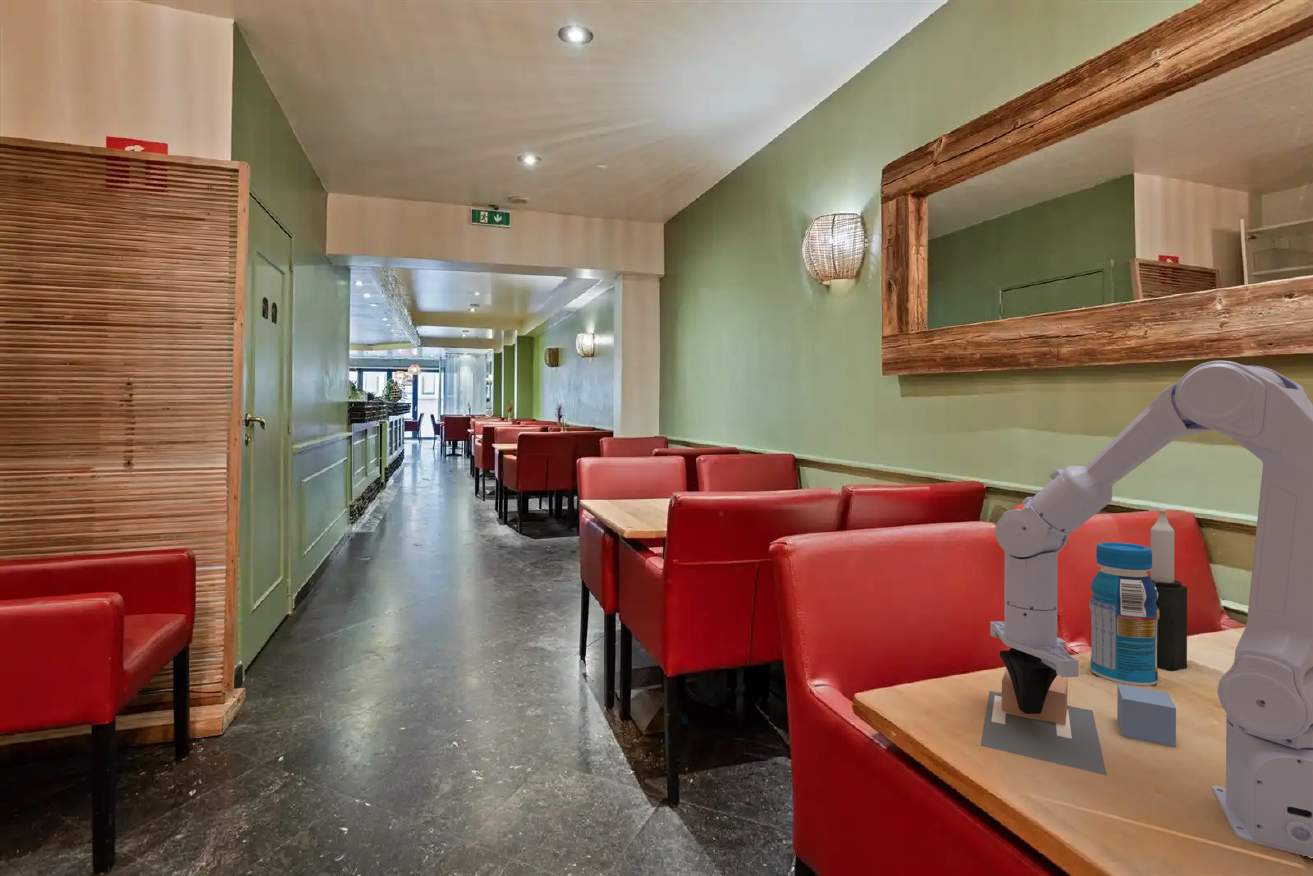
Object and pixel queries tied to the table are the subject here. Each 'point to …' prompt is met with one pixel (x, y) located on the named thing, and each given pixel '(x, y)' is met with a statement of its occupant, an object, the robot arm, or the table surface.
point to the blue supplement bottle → (1124, 615)
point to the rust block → (1053, 704)
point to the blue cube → (1146, 715)
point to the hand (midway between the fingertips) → (1030, 711)
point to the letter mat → (1044, 736)
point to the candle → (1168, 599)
